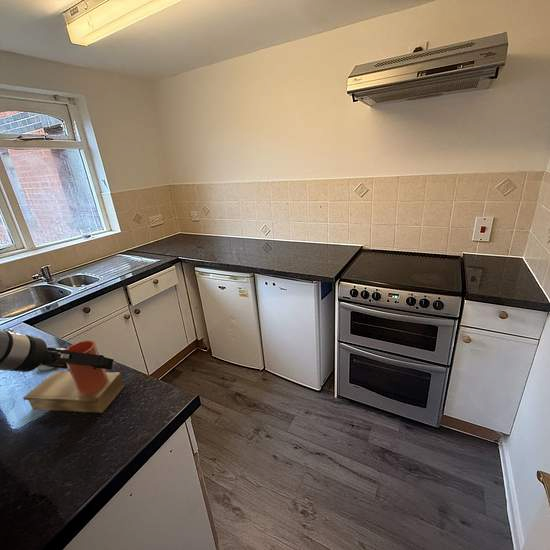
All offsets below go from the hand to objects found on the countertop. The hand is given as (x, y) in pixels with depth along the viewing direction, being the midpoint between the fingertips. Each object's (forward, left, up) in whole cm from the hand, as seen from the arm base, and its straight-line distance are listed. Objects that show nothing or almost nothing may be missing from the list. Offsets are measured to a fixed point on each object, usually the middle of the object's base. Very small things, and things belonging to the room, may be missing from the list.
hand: (89, 364), depth 82 cm
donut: (-29, +14, -11) cm, 34 cm away
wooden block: (-6, -1, -11) cm, 12 cm away
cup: (0, -1, -6) cm, 6 cm away
